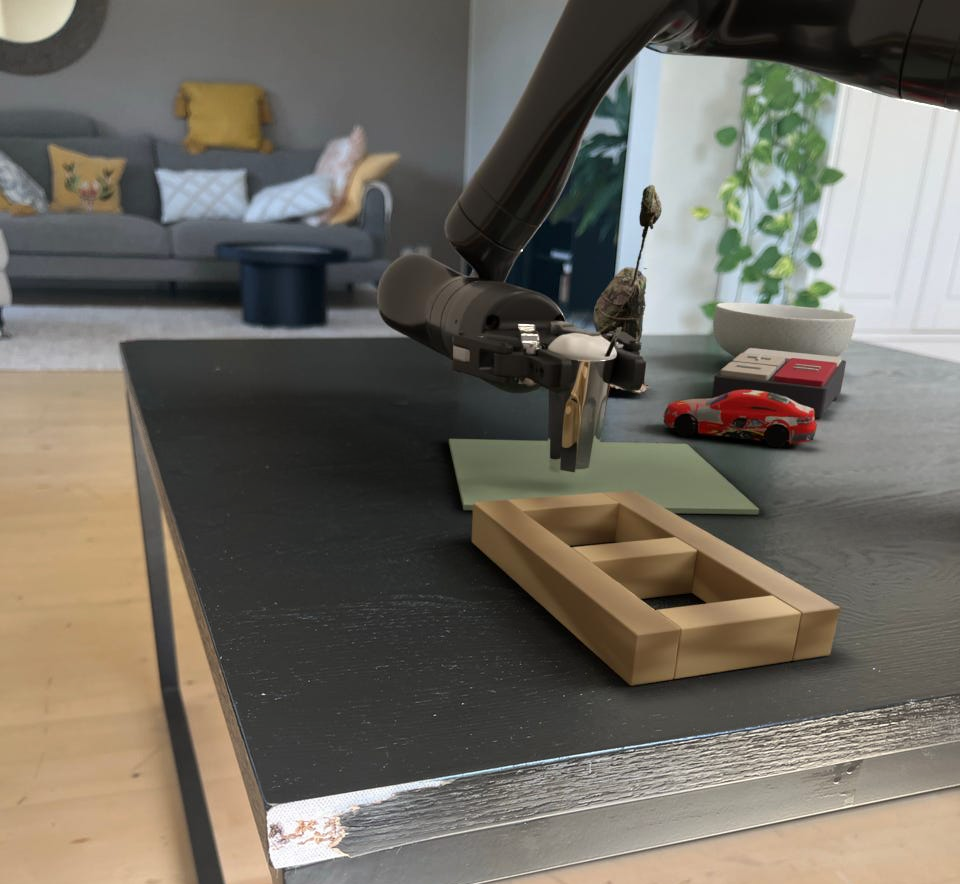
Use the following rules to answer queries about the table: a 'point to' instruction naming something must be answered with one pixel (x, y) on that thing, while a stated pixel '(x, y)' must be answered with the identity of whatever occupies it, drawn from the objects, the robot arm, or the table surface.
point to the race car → (744, 417)
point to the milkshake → (580, 403)
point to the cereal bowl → (782, 328)
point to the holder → (651, 586)
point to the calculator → (785, 376)
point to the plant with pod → (628, 286)
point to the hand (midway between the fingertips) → (602, 375)
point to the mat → (595, 475)
